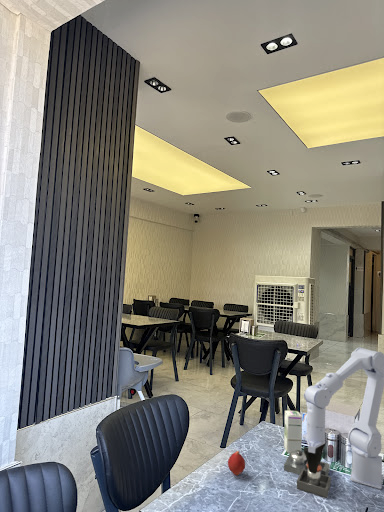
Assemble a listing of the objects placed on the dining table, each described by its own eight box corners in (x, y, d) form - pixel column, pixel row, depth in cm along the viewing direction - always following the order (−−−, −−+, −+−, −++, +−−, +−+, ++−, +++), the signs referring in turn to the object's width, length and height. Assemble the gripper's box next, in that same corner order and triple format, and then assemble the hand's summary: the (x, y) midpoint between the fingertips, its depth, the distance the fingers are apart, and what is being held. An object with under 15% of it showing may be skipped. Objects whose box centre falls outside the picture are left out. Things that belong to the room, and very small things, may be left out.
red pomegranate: (224, 476, 120) (226, 451, 121) (231, 469, 125) (232, 445, 126) (241, 481, 117) (242, 456, 118) (247, 474, 122) (248, 449, 123)
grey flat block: (329, 469, 129) (330, 455, 129) (325, 482, 120) (326, 467, 120) (290, 458, 135) (290, 445, 136) (283, 470, 126) (284, 455, 127)
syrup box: (301, 454, 140) (302, 415, 141) (286, 453, 140) (287, 414, 141) (297, 447, 145) (298, 410, 147) (283, 446, 146) (284, 409, 147)
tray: (330, 484, 119) (330, 476, 119) (326, 498, 111) (327, 490, 111) (302, 476, 123) (302, 468, 123) (296, 488, 115) (296, 480, 115)
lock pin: (321, 483, 118) (322, 464, 119) (319, 490, 114) (320, 470, 115) (307, 479, 120) (308, 460, 121) (305, 485, 116) (305, 466, 117)
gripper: (307, 415, 127) (306, 455, 126) (299, 428, 114) (297, 473, 113) (328, 419, 123) (327, 460, 122) (322, 434, 111) (321, 480, 110)
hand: (314, 467), depth 117 cm, fingers open, 7 cm apart
